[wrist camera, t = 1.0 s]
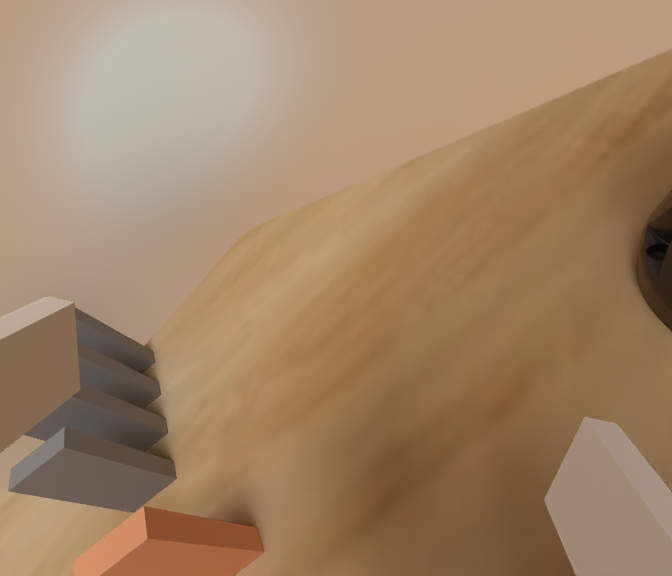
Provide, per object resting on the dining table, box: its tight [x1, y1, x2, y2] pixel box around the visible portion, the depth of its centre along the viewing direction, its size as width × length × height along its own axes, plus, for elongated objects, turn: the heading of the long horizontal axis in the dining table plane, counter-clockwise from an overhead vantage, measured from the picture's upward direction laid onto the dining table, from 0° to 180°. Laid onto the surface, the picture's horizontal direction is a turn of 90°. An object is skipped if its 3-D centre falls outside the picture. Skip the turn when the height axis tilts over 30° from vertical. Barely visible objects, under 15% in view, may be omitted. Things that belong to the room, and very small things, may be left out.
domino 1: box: [75, 308, 155, 373], centre depth 43 cm, size 5×2×11 cm, turn 120°
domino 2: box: [77, 342, 161, 409], centre depth 40 cm, size 5×2×11 cm, turn 120°
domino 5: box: [74, 506, 264, 576], centre depth 26 cm, size 5×2×11 cm, turn 120°
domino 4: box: [8, 427, 177, 512], centre depth 33 cm, size 5×2×11 cm, turn 120°
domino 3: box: [24, 383, 168, 452], centre depth 36 cm, size 5×2×11 cm, turn 120°
